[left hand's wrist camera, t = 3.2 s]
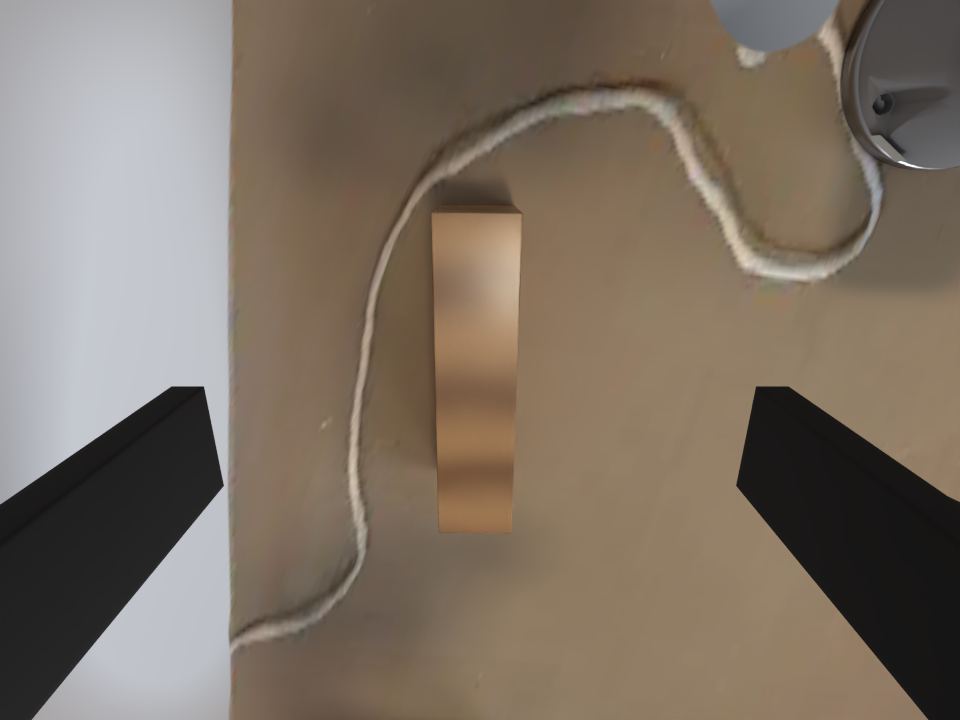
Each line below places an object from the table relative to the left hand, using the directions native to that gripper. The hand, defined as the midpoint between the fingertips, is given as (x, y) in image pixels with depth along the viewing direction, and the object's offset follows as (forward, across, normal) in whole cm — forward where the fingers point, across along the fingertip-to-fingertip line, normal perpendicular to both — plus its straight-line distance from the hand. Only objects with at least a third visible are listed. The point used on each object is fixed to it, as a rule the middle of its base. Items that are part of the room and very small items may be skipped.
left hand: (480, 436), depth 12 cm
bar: (+33, 0, -9) cm, 34 cm away
